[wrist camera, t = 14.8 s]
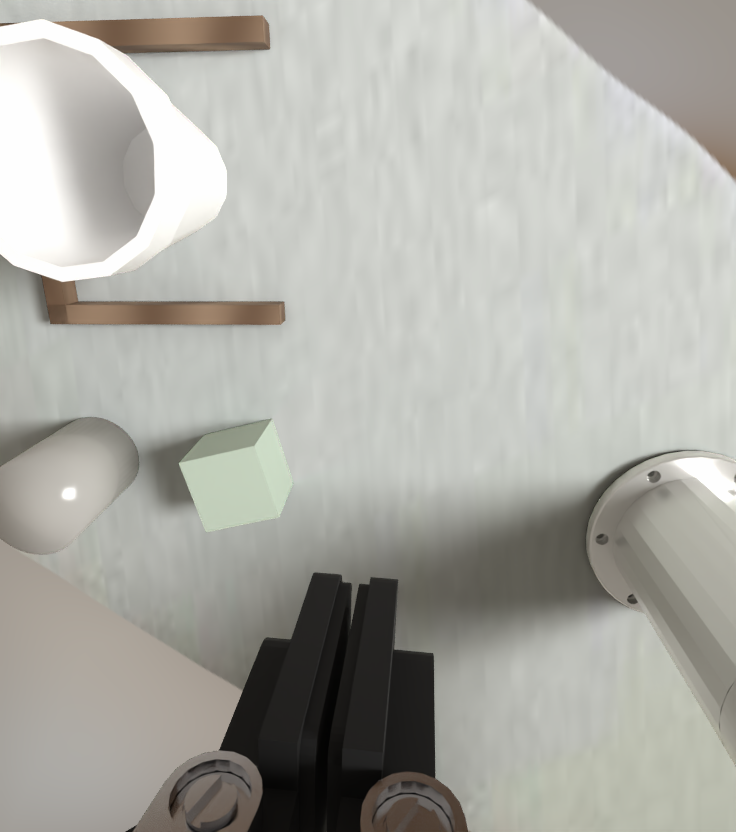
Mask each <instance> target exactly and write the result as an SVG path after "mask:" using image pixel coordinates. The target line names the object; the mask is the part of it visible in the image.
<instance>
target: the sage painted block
mask: <svg viewBox="0 0 736 832" xmlns="http://www.w3.org/2000/svg"><path fill="white" fill-rule="evenodd" d="M179 466H180V468H181V471H182V473H183V476H184V478H185V481H186V483H187V486H188V488H189V491H190V493H191V496H192V498H193V501H194V503H195V506H196V508H197V511H198V514H199V516H200V519H201V521H202V524H203V526H204V529H205V531H206V532H211V531H216V530H221V529H225V528H230V527H235V526H240V525H245V524H249V523H254V522H259V521H264V520H269V519H274V518H278V517H280V514H281V512H282V510H283V507H284V505H285V502H286V500H287V498H288V495H289V493H290V491H291V488H292V486H293V480H292V477H291V474H290V471H289V468H288V465H287V462H286V459H285V456H284V453H283V450H282V447H281V444H280V441H279V438H278V435H277V432H276V429H275V426H274V423H273V420H272V419H269V420H265V421H260V422H256V423H252V424H247V425H243V426H239V427H235V428H230V429H226V430H222V431H218V432H213V433H209V434H205V435H204V436H203V437H202V438H201V439H200V440H199V441H198V442H197V443H196V445H195V446H194V447H193V448H192V449H191V450H190V451H189V452H188V453H187V454H186V456H185V457H184V458H183V459H182V460H181V461H180V462H179Z"/></svg>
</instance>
